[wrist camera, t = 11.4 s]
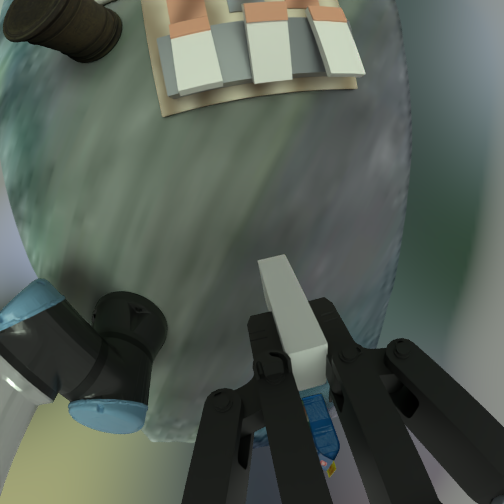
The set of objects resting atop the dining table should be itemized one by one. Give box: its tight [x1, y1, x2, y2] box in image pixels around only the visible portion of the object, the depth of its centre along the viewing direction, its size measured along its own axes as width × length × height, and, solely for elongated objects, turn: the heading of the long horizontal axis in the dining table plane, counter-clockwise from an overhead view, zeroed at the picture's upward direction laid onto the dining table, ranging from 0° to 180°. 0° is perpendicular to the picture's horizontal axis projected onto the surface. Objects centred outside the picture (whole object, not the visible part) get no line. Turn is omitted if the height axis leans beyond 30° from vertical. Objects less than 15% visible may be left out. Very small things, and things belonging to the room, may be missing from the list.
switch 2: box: [305, 6, 365, 77], centre depth 23 cm, size 4×10×2 cm, turn 10°
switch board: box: [141, 0, 357, 117], centre depth 27 cm, size 28×20×2 cm
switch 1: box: [169, 16, 223, 96], centre depth 22 cm, size 4×10×2 cm, turn 10°
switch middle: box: [241, 1, 293, 84], centre depth 23 cm, size 4×10×2 cm, turn 10°
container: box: [3, 0, 122, 63], centre depth 16 cm, size 9×9×18 cm
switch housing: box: [157, 17, 354, 99], centre depth 27 cm, size 24×8×5 cm, turn 100°
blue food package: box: [302, 394, 340, 478], centre depth 61 cm, size 6×12×25 cm, turn 5°
